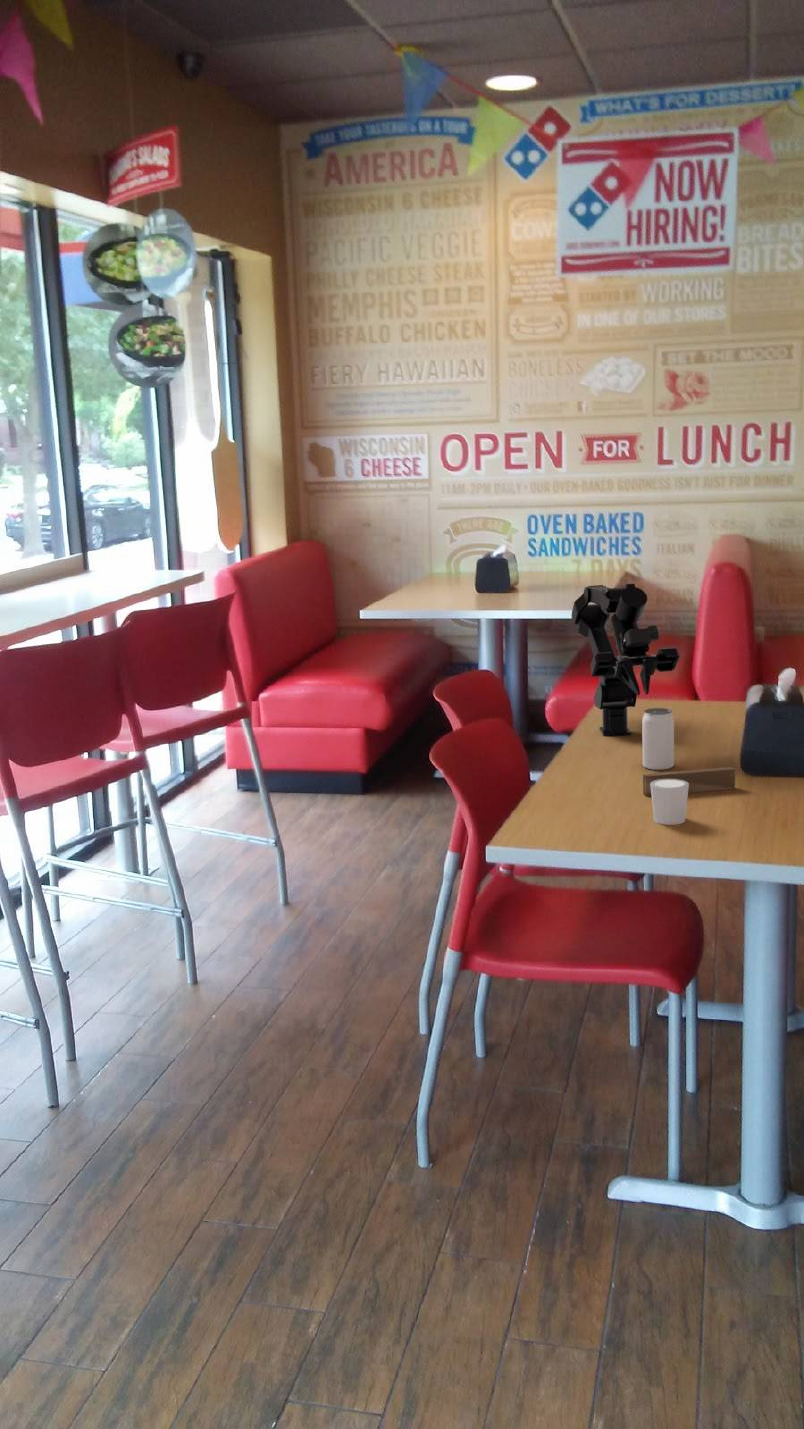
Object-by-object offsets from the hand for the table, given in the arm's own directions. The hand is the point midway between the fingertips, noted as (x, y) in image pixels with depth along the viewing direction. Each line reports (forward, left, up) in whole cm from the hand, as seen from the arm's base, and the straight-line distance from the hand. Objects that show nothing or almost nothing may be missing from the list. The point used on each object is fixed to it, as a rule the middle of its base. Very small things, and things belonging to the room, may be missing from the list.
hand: (643, 694), depth 277 cm
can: (+10, +1, -14) cm, 17 cm away
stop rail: (+28, +4, -14) cm, 32 cm away
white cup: (+46, -4, -14) cm, 48 cm away
